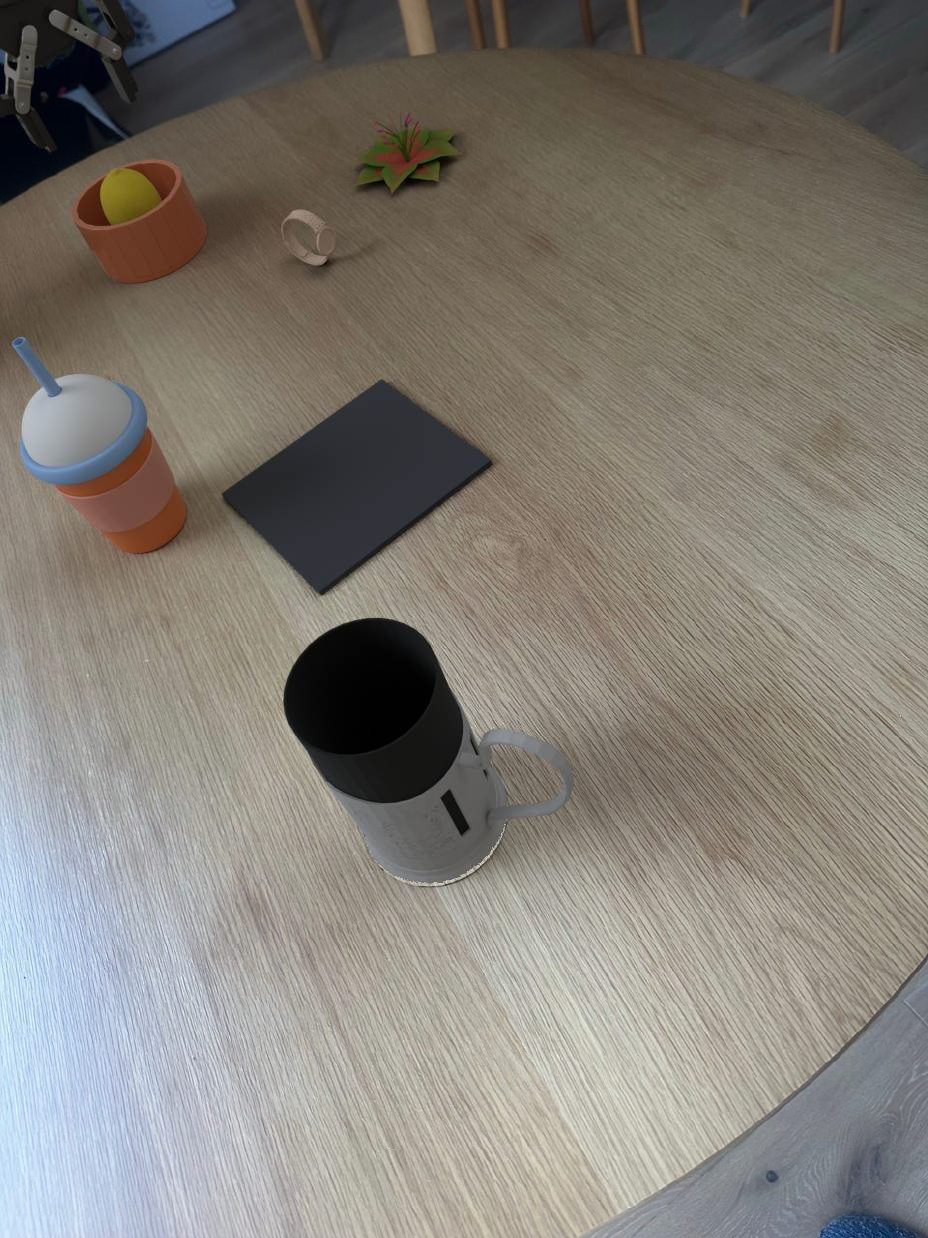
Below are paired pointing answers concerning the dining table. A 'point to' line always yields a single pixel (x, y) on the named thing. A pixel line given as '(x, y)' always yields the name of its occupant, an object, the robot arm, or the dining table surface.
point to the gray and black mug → (405, 750)
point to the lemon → (127, 195)
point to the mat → (354, 484)
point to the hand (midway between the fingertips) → (90, 124)
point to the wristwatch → (324, 238)
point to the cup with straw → (100, 456)
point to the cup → (143, 227)
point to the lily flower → (405, 154)
